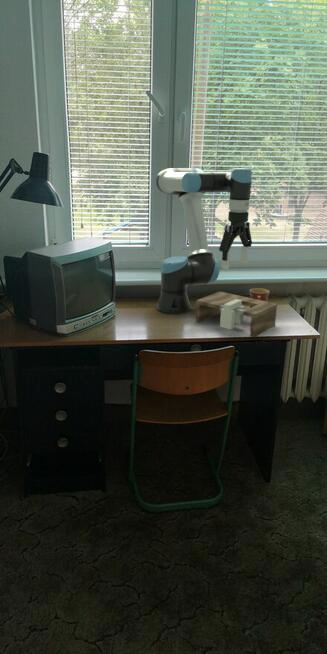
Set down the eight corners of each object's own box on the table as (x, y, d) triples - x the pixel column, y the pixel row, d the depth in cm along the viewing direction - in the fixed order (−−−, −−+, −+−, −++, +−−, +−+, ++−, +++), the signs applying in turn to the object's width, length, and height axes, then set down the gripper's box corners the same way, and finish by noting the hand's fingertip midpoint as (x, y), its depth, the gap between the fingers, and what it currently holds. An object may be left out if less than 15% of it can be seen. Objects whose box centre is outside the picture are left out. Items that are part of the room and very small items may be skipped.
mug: (248, 309, 225) (250, 287, 221) (267, 310, 223) (269, 288, 219) (247, 317, 214) (249, 294, 210) (267, 318, 212) (269, 296, 208)
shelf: (195, 321, 207) (196, 300, 204) (218, 311, 220) (219, 291, 217) (253, 337, 191) (255, 314, 188) (275, 325, 204) (277, 303, 201)
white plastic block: (220, 326, 195) (221, 303, 192) (232, 320, 202) (233, 298, 199) (230, 329, 192) (232, 306, 189) (242, 323, 199) (244, 300, 196)
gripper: (229, 215, 174) (225, 273, 181) (263, 208, 192) (258, 261, 199) (211, 212, 178) (208, 269, 186) (247, 207, 196) (242, 258, 204)
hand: (234, 265), depth 193 cm, fingers open, 13 cm apart
